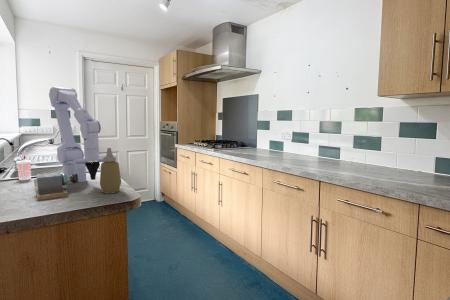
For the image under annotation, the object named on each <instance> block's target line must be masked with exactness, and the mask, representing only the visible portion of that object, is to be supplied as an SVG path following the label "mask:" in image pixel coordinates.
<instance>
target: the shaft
mask: <svg viewBox="0 0 450 300" xmlns="http://www.w3.org/2000/svg"><path fill="white" fill-rule="evenodd" d="M60 174H61V175H62V186H64V187H66V186H68V184H78V183H79V182H78V175H77V174H72V175H70V176H66V174H63V173H60ZM71 182H72V183H71ZM67 183H68V184H67ZM33 184H34V188H36V187H38V182H37V178H33Z"/></svg>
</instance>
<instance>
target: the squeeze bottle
mask: <svg viewBox="0 0 450 300" xmlns="http://www.w3.org/2000/svg"><path fill="white" fill-rule="evenodd" d="M105 155H106V156H104V157H103V156H102V157H103V161H104V162H101V163H100V177H99V185H100V187H101V190H102V193H104V194H115V193H118V192H119V191H120V188H121V184H122V178H121V176H122V175H121V171H120V165H119V164H120V163H119V162H118V161H117V156H113V155H114V154H113V151H112V148H111V147H108V148H107V150H106V154H105Z"/></svg>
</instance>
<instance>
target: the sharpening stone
mask: <svg viewBox="0 0 450 300" xmlns="http://www.w3.org/2000/svg"><path fill="white" fill-rule="evenodd" d="M61 174H62V173H61V172H50V173H39V174H36V179H37V182H38V187H35V192H36V198H37V201H39V202H40V201H45V200H53V199H59V198H66V197H69V192H68V190H67V189H66V186H62V175H61Z"/></svg>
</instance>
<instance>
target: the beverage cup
mask: <svg viewBox="0 0 450 300" xmlns="http://www.w3.org/2000/svg"><path fill="white" fill-rule="evenodd" d="M24 153H25V152H24V150H22V151H21V154H22V160H17V161H15V164H16V168H17V174H18V180H19V181H27V180H31V179H32V175H31V174H32V171H31V170H32V169H31V168H32V165H31V164H32V160H30V159H29V160H27V159H26V160H25V156H24V155H25V154H24Z"/></svg>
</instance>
